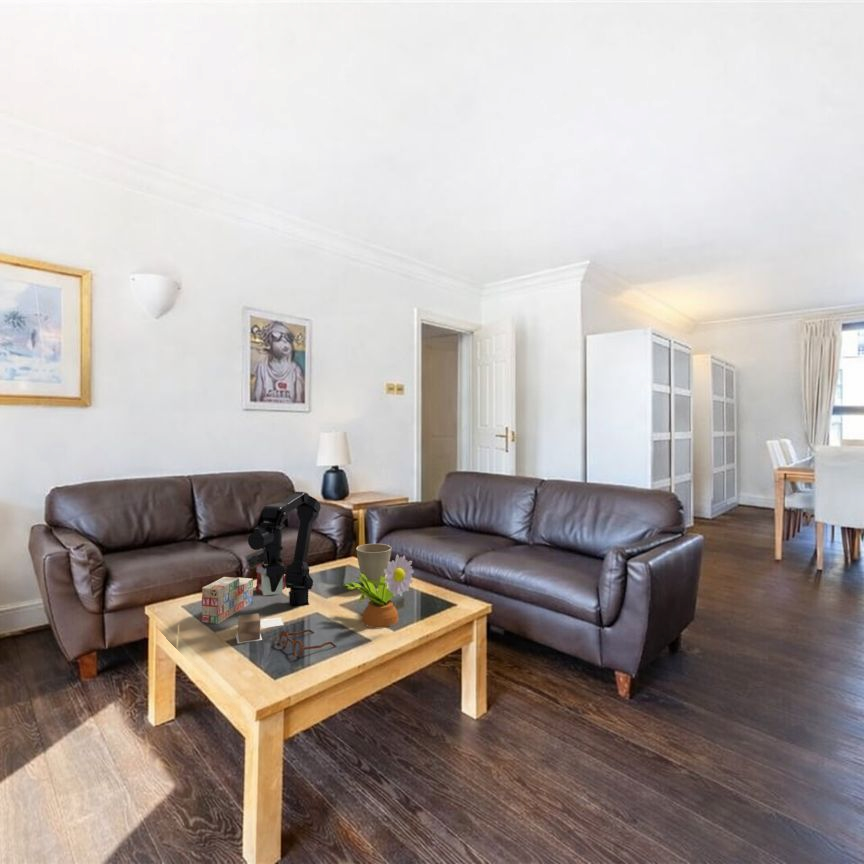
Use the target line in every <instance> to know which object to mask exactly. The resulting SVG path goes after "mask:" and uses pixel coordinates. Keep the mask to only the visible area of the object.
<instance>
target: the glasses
mask: <svg viewBox="0 0 864 864" xmlns="http://www.w3.org/2000/svg"><path fill="white" fill-rule="evenodd" d="M308 632H309V633H311V634H314V633H315V631H313V630H311V629H310V628H309V629H304V630H301V631H297V632H296V631H295V632H287V631H286V630H283V631H281V633H280V634H279V637H278V638H279V639H278V643H279V645H280V646H282V647H283V648H287V646H288V643H289V642H290V643H292V644H293V646H292V654H293V655H294V656H296V657H297V658H301V657H302V654H303V651H304V650H312V649H321V648H322V647H324V646H327V645H331V646H332V647H333V648H337V647H338V646H337V645H336V644H335V643H333V641H328V642H327V641H326V642H324V643H322V644H320V645H310V646H303V643H302V641H301V640H299V639H298V640H295V641H294V640H293V639H292V638H289V636H294V635H302V634H304V633H308ZM283 637H285V638H286V641H285V643H284V645H283V643H282V638H283ZM297 644H299V645H300V646H299V647H300V652H299V654H298V655H297V653H296V645H297Z"/></svg>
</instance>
